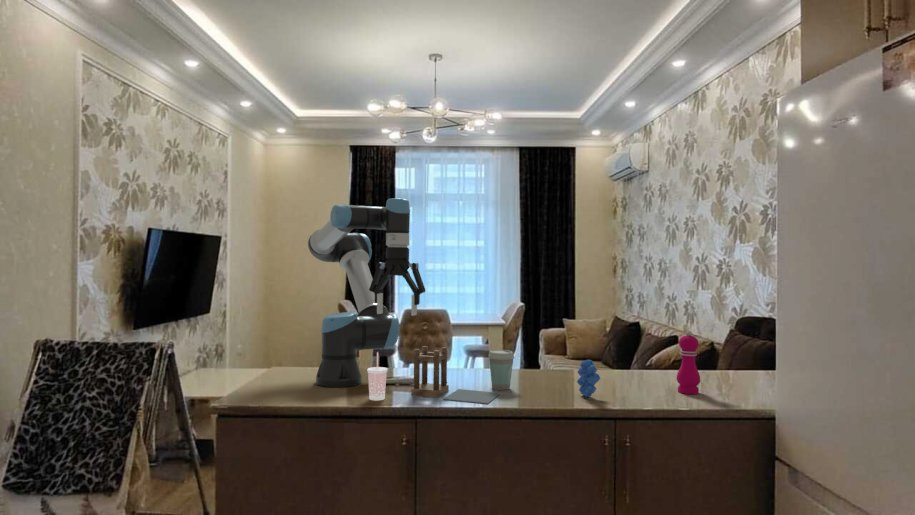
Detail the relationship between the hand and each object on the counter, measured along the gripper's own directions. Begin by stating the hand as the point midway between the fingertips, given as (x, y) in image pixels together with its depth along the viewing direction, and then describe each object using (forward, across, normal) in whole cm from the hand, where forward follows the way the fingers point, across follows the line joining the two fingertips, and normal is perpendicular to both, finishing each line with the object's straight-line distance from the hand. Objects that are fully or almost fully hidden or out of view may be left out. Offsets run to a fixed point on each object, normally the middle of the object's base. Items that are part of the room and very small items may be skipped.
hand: (396, 314), depth 190 cm
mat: (+24, +26, 0) cm, 35 cm away
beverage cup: (+24, 0, -13) cm, 28 cm away
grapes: (+24, +60, +12) cm, 66 cm away
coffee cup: (+24, +31, +14) cm, 42 cm away
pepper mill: (+24, +89, +31) cm, 98 cm away
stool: (+24, +12, 0) cm, 27 cm away
